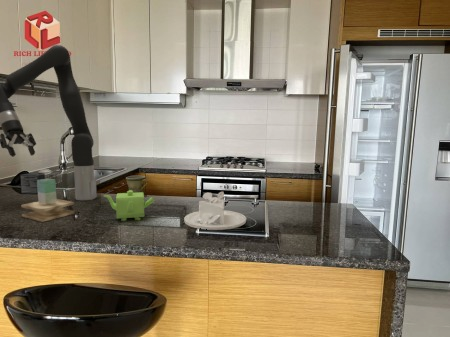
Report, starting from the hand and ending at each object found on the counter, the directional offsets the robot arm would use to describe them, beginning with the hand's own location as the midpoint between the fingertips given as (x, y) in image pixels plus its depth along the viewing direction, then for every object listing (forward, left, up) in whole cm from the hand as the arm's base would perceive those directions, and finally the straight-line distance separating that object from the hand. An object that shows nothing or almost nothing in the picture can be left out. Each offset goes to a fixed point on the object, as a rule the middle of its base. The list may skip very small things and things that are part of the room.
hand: (23, 155), depth 145 cm
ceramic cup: (-43, -27, -24) cm, 57 cm away
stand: (-15, +12, -24) cm, 31 cm away
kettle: (-50, +15, -24) cm, 58 cm away
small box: (+16, -33, -24) cm, 44 cm away
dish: (-85, +18, -25) cm, 90 cm away
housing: (-15, +12, -19) cm, 27 cm away
